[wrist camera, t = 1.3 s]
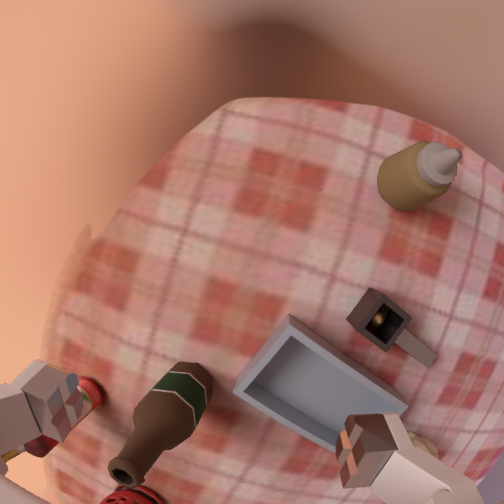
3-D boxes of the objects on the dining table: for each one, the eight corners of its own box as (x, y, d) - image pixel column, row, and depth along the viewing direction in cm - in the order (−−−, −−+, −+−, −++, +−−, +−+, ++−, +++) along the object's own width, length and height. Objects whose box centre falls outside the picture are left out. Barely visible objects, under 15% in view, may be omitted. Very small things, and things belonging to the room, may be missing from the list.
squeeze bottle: (394, 225, 41) (459, 213, 23) (358, 181, 41) (405, 141, 23) (428, 192, 40) (498, 165, 22) (394, 150, 40) (451, 101, 22)
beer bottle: (201, 352, 44) (130, 442, 20) (223, 395, 44) (177, 503, 20) (158, 367, 44) (73, 448, 21) (181, 407, 44) (116, 504, 20)
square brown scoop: (437, 342, 40) (454, 354, 34) (415, 371, 41) (431, 385, 35) (369, 287, 41) (382, 293, 35) (346, 319, 42) (355, 330, 36)
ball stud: (386, 311, 41) (394, 316, 38) (373, 328, 41) (379, 335, 38) (370, 299, 41) (377, 303, 38) (357, 317, 41) (363, 322, 38)
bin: (395, 389, 41) (408, 406, 35) (346, 441, 42) (352, 462, 36) (288, 313, 42) (289, 324, 36) (238, 374, 43) (232, 392, 37)
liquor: (69, 378, 46) (-35, 440, 18) (92, 367, 46) (-21, 436, 18) (89, 411, 46) (-3, 486, 18) (114, 402, 45) (16, 488, 18)
